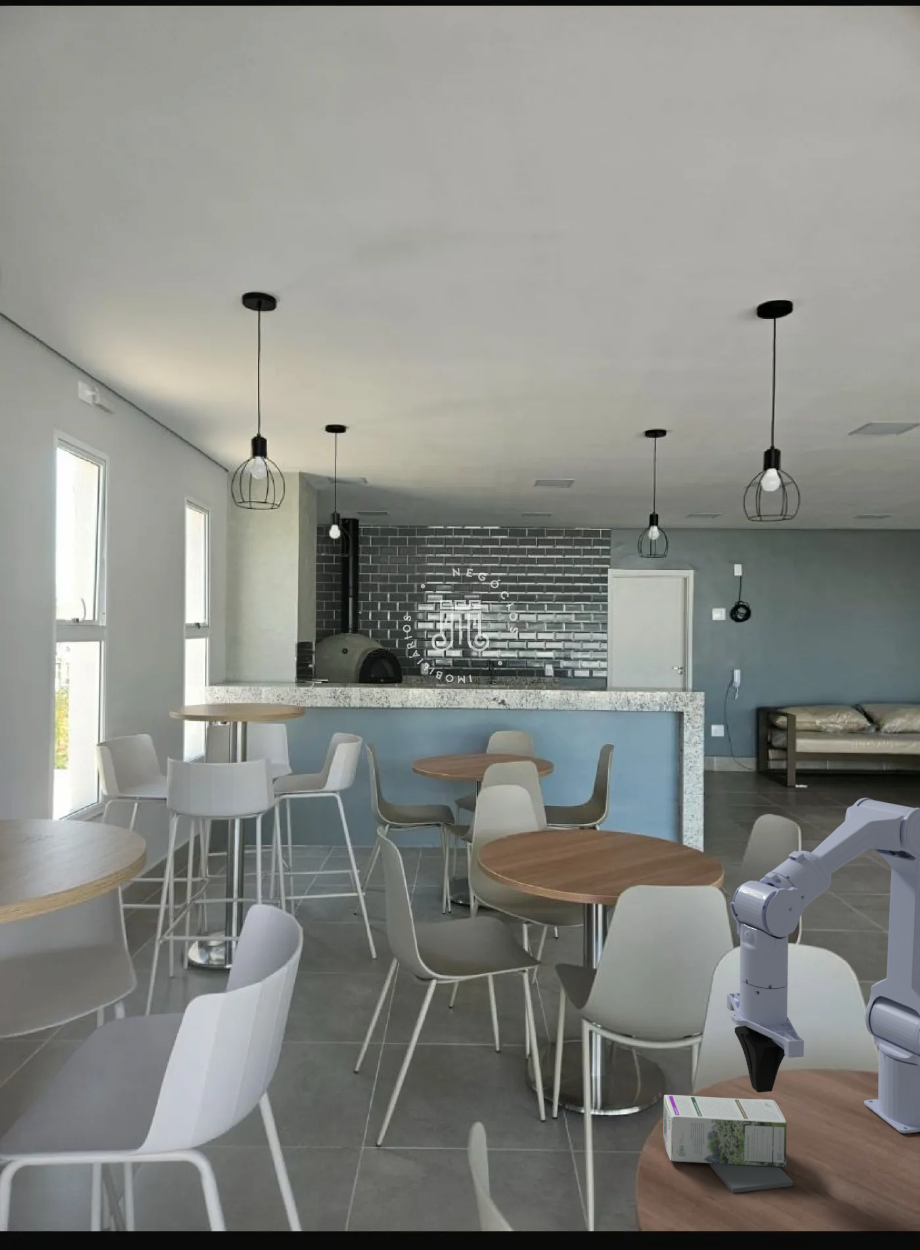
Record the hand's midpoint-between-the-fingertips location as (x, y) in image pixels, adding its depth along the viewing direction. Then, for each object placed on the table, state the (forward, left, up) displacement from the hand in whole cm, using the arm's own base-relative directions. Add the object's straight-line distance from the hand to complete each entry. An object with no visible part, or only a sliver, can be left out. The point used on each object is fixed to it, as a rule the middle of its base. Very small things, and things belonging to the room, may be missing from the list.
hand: (762, 1089), depth 110 cm
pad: (+2, 0, -9) cm, 10 cm away
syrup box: (-3, -1, -6) cm, 7 cm away
